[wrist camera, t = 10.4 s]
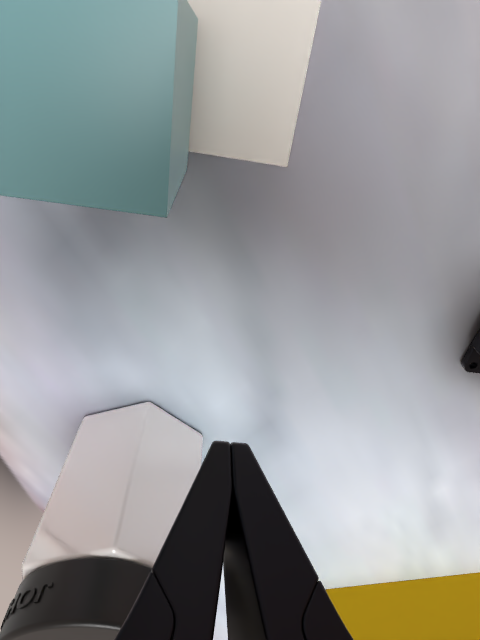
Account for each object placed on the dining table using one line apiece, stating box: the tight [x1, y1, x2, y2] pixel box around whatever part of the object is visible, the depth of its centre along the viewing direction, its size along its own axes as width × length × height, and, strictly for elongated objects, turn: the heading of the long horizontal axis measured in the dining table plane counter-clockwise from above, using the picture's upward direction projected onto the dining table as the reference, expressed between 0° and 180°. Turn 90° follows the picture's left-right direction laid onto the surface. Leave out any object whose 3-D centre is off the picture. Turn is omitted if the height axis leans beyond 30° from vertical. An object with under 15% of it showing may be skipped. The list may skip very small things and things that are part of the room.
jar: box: [0, 402, 203, 640], centre depth 23 cm, size 9×8×12 cm
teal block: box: [0, 0, 198, 218], centre depth 13 cm, size 5×5×7 cm
